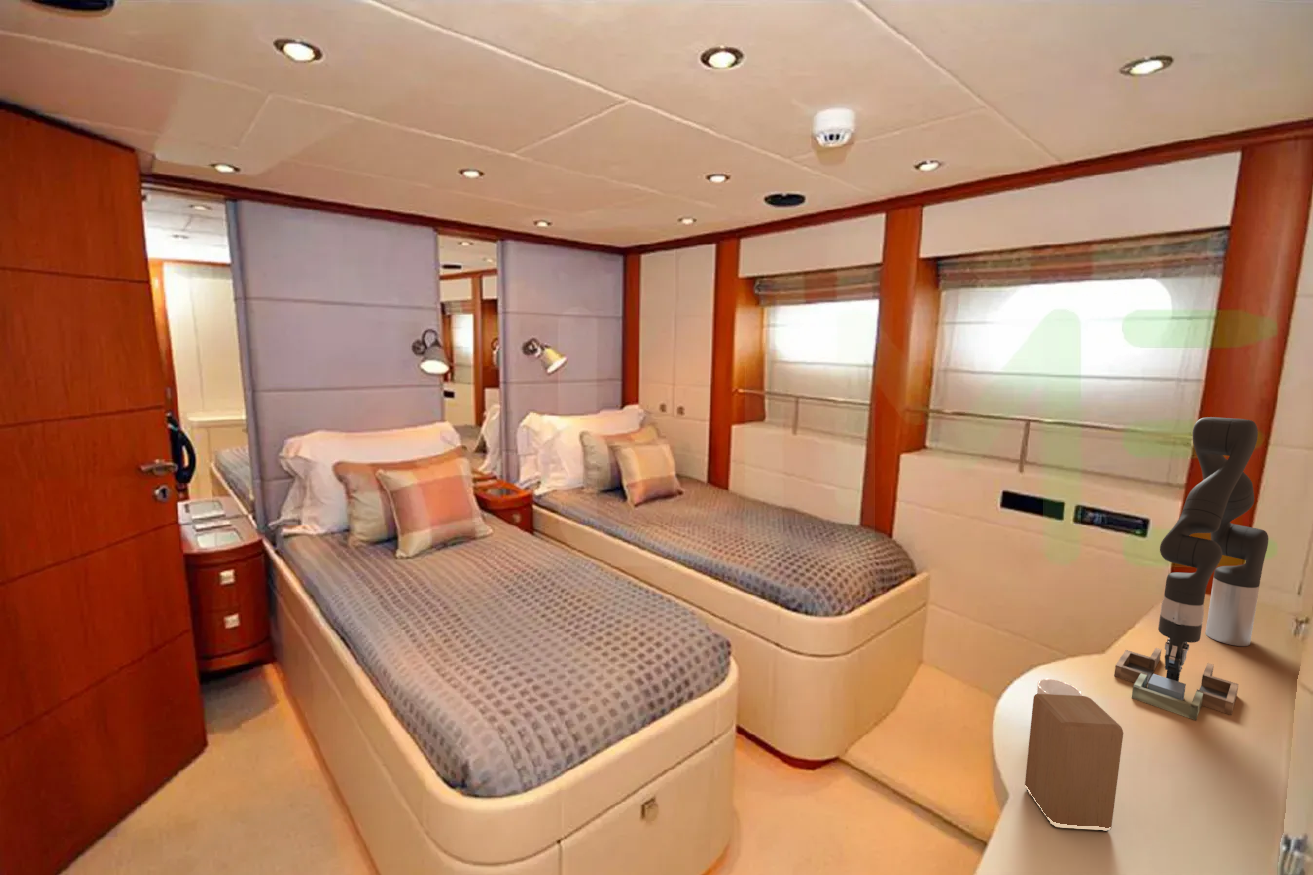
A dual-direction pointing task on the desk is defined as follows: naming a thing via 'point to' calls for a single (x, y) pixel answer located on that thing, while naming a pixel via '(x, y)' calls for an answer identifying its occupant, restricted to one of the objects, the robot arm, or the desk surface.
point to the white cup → (1056, 688)
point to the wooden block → (1073, 760)
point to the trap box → (1210, 695)
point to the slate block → (1167, 686)
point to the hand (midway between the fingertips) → (1171, 684)
